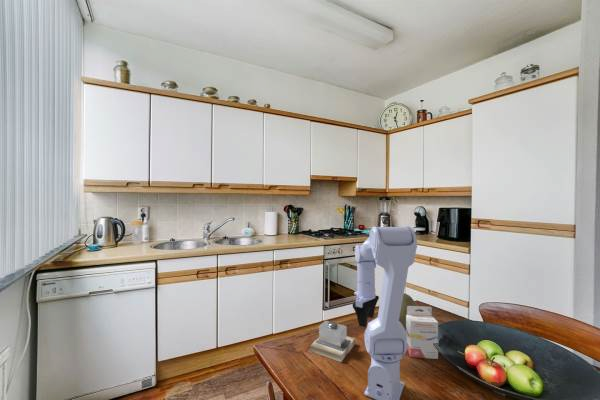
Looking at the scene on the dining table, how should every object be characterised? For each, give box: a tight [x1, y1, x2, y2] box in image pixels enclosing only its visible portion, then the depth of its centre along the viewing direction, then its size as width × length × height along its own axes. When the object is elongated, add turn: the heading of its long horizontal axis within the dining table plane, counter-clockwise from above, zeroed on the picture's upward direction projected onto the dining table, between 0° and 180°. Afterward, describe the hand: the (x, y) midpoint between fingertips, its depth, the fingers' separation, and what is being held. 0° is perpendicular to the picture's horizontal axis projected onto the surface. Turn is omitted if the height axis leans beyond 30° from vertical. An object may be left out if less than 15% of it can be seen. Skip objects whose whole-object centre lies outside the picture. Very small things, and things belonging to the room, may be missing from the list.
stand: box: [309, 335, 356, 363], centre depth 87 cm, size 12×11×2 cm
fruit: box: [399, 292, 419, 331], centre depth 97 cm, size 11×11×15 cm
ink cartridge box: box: [406, 305, 439, 360], centre depth 83 cm, size 9×5×15 cm, turn 84°
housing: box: [318, 320, 348, 348], centre depth 87 cm, size 5×8×6 cm, turn 57°
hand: (366, 321), depth 86 cm, fingers open, 7 cm apart
